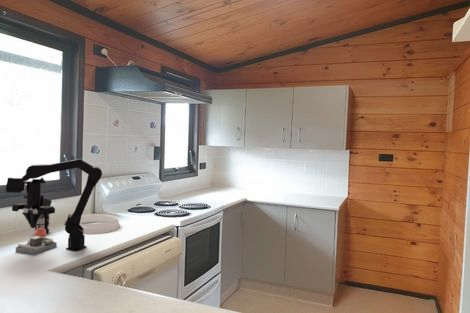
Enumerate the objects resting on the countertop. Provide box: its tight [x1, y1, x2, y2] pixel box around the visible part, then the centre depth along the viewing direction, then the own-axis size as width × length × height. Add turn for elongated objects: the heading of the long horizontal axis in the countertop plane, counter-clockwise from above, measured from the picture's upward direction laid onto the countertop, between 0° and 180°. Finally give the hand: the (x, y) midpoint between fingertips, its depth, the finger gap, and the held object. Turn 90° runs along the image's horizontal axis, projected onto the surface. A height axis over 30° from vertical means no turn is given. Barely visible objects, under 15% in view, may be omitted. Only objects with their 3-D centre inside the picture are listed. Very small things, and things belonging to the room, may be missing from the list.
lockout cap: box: [34, 228, 47, 238], centre depth 176 cm, size 5×5×6 cm
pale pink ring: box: [80, 213, 120, 235], centre depth 206 cm, size 27×27×6 cm
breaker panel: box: [15, 237, 58, 256], centre depth 164 cm, size 10×13×4 cm
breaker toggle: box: [29, 236, 42, 247], centre depth 160 cm, size 3×4×4 cm
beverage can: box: [34, 214, 50, 234], centre depth 190 cm, size 7×7×12 cm
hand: (33, 227), depth 160 cm, fingers closed
